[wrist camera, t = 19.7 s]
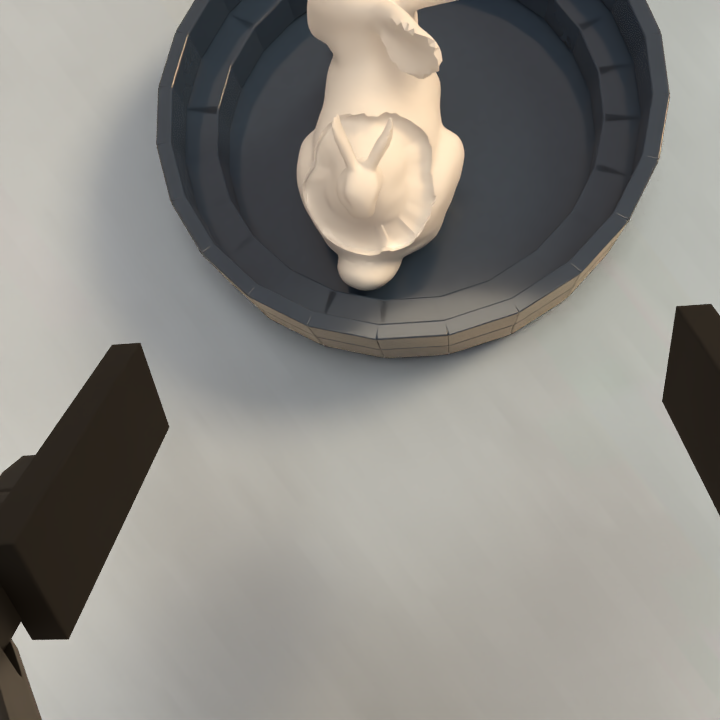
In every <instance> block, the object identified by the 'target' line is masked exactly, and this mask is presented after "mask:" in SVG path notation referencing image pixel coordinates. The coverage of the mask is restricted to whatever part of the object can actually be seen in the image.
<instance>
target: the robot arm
mask: <svg viewBox="0 0 720 720" xmlns="http://www.w3.org/2000/svg"><path fill="white" fill-rule="evenodd" d="M662 402H663V404H664V406H665V408H666V410H667V412H668V414H669V416H670V418H671V420H672V422H673V424H674V426H675V428H676V430H677V432H678V434H679V436H680V438H681V440H682V442H683V444H684V446H685V448H686V450H687V452H688V454H689V456H690V458H691V460H692V462H693V464H694V466H695V468H696V470H697V472H698V473H699V475H700V477H701V479H702V481H703V483H704V485H705V487H706V489H707V491H708V493H709V495H710V497H711V499H712V501H713V503H714V505H715V507H716V509H717V511H718V513H719V515H720V315H719V314H718V313H717V311H716V310H715V309H714V307H713V306H712V305H711V304H704V305H689V306H676V313H675V320H674V326H673V333H672V339H671V346H670V353H669V359H668V366H667V373H666V379H665V386H664V392H663V399H662ZM168 429H169V425H168V422H167V419H166V416H165V413H164V410H163V407H162V404H161V401H160V398H159V396H158V393H157V390H156V387H155V384H154V381H153V378H152V375H151V372H150V369H149V366H148V364H147V361H146V358H145V355H144V352H143V349H142V346H141V343H132V344H118V345H112V346H111V347H110V349H109V350H108V351H107V353H106V354H105V356H104V357H103V359H102V360H101V362H100V363H99V364H98V366H97V367H96V369H95V370H94V372H93V373H92V375H91V376H90V377H89V379H88V380H87V382H86V383H85V385H84V386H83V387H82V389H81V390H80V392H79V393H78V395H77V396H76V398H75V399H74V400H73V402H72V403H71V405H70V406H69V408H68V409H67V411H66V412H65V413H64V415H63V416H62V418H61V419H60V421H59V422H58V423H57V425H56V426H55V428H54V429H53V431H52V432H51V434H50V435H49V436H48V438H47V439H46V441H45V442H44V444H43V445H42V447H41V448H40V449H39V451H38V452H37V454H36V455H30V456H22V457H21V458H20V459H19V460H17V461H16V462H15V463H14V464H12V465H11V466H10V467H9V468H7V469H6V470H5V471H4V472H3V473H2V474H1V476H0V720H42V719H41V716H40V713H39V710H38V707H37V704H36V701H35V698H34V695H33V692H32V689H31V686H30V684H29V681H28V678H27V675H26V672H25V669H24V666H23V663H22V660H21V657H20V654H19V651H18V648H17V647H16V645H15V644H14V642H13V641H12V639H11V638H12V636H13V635H14V633H15V631H16V629H17V627H18V626H19V624H20V622H22V624H23V625H24V627H25V629H26V630H27V632H28V634H29V635H30V637H31V638H32V640H53V639H69V637H70V635H71V633H72V631H73V629H74V627H75V625H76V623H77V620H78V618H79V616H80V614H81V612H82V610H83V608H84V606H85V604H86V601H87V599H88V597H89V595H90V593H91V591H92V589H93V587H94V585H95V582H96V580H97V578H98V576H99V574H100V572H101V570H102V568H103V566H104V564H105V561H106V559H107V557H108V555H109V553H110V551H111V549H112V547H113V545H114V542H115V540H116V538H117V536H118V534H119V532H120V530H121V528H122V526H123V523H124V521H125V519H126V517H127V515H128V513H129V511H130V509H131V507H132V504H133V502H134V500H135V498H136V496H137V494H138V492H139V490H140V488H141V485H142V483H143V481H144V479H145V477H146V475H147V473H148V471H149V469H150V467H151V464H152V462H153V460H154V458H155V456H156V454H157V452H158V450H159V448H160V445H161V443H162V441H163V439H164V437H165V435H166V433H167V431H168Z"/></svg>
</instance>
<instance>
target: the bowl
mask: <svg viewBox="0 0 720 720" xmlns="http://www.w3.org/2000/svg"><path fill="white" fill-rule="evenodd" d="M307 2H308V0H195V1H194V2H193V4H192V6H191V7H190V9H189V10H188V12H187V14H186V15H185V17H184V19H183V20H182V22H181V24H180V25H179V27H178V28H177V30H176V33H175V35H174V38H173V42H172V45H171V48H170V51H169V55H168V58H167V61H166V64H165V68H164V71H163V74H162V77H161V81H160V84H159V88H158V111H157V141H156V145H157V150H158V154H159V158H160V162H161V165H162V169H163V173H164V177H165V181H166V185H167V189H168V193H169V197H170V201H171V202H172V205H173V207H174V209H175V210H176V212H177V214H178V215H179V217H180V219H181V220H182V222H183V224H184V225H185V227H186V229H187V230H188V232H189V234H190V235H191V237H192V239H193V240H194V242H195V244H196V245H197V247H198V249H199V250H200V252H201V253H202V254H203V256H204V257H205V258H206V259H207V260H208V261H209V262H210V263H211V264H212V265H213V266H214V267H215V268H216V269H217V270H218V271H219V272H220V273H221V274H222V275H223V276H224V277H225V278H226V279H227V280H228V281H229V282H230V283H231V284H232V285H234V286H235V287H236V288H237V289H238V290H239V291H240V292H241V293H242V294H243V295H244V296H246V297H247V298H248V299H249V300H250V301H251V302H252V303H253V304H254V305H255V306H256V307H257V308H259V309H260V310H261V311H262V312H263V313H264V314H265V315H266V316H267V317H268V318H270V319H271V320H273V321H275V322H277V323H279V324H281V325H283V326H285V327H287V328H289V329H291V330H293V331H295V332H297V333H299V334H301V335H303V336H305V337H307V338H309V339H311V340H313V341H315V342H317V343H319V344H321V345H324V346H328V347H332V348H337V349H342V350H347V351H352V352H357V353H362V354H367V355H372V356H377V357H381V358H382V357H385V358H397V357H414V356H432V355H447V354H448V353H449V354H451V353H455V352H458V351H461V350H464V349H467V348H470V347H473V346H476V345H479V344H483V343H486V342H489V341H492V340H495V339H498V338H501V337H504V336H507V335H509V334H510V333H511V334H513V333H514V332H516V331H517V330H519V329H520V328H522V327H524V326H525V325H527V324H528V323H530V322H531V321H533V320H535V319H536V318H538V317H539V316H541V315H542V314H544V313H546V312H547V311H549V310H550V309H552V308H553V307H555V306H557V305H558V304H560V303H561V302H563V301H564V300H565V299H566V298H568V297H569V296H570V294H571V293H572V292H573V291H574V290H575V289H576V288H577V287H578V286H579V285H580V283H581V282H582V281H583V280H584V279H585V278H586V277H587V276H588V275H589V274H590V272H591V271H592V270H593V269H594V268H595V267H596V266H597V265H598V264H599V263H600V261H601V260H602V259H603V258H604V257H605V256H606V255H607V254H608V252H609V251H610V249H611V248H612V246H613V244H614V243H615V241H616V240H617V238H618V237H619V235H620V234H621V232H622V231H623V229H624V227H625V226H626V224H627V223H628V221H629V220H630V218H631V216H632V214H633V212H634V210H635V207H636V205H637V203H638V201H639V199H640V197H641V195H642V193H643V191H644V189H645V187H646V185H647V183H648V181H649V179H650V177H651V175H652V173H653V171H654V169H655V167H656V165H657V163H658V160H659V158H660V152H661V146H662V140H663V134H664V128H665V122H666V116H667V110H668V104H669V98H670V93H669V85H668V78H667V71H666V64H665V56H664V49H663V42H662V35H661V31H660V29H659V27H658V25H657V23H656V21H655V19H654V16H653V14H652V12H651V10H650V8H649V6H648V4H647V2H646V0H456V1H452V2H448V3H443V4H438V5H434V6H430V7H425V8H422V9H419V10H417V15H418V25H419V26H420V27H421V28H422V29H423V30H424V31H426V32H427V33H428V34H429V35H430V36H431V37H432V38H433V39H434V40H435V41H436V43H437V44H438V46H439V47H440V50H441V54H442V62H441V64H440V65H439V71H438V72H436V73H437V75H438V78H439V80H440V86H441V95H440V114H441V121H442V124H443V126H444V127H445V128H446V129H448V130H450V131H451V132H453V133H454V134H456V135H457V136H458V137H459V138H460V140H461V141H462V144H463V147H464V162H463V167H462V172H461V177H460V179H459V182H458V184H457V187H456V189H455V192H454V195H453V198H452V201H451V203H450V205H449V207H448V209H447V212H446V214H445V217H444V220H443V223H442V226H441V228H440V230H439V231H438V233H437V235H436V236H435V237H434V238H433V239H432V240H431V241H430V242H429V243H428V244H427V245H426V246H424V247H423V248H421V249H419V250H417V251H415V252H413V253H411V254H409V255H407V256H405V257H403V259H402V262H401V265H400V267H399V269H398V271H397V273H396V274H395V276H394V277H393V278H392V279H391V280H390V281H389V282H388V283H386V284H385V285H384V286H382V287H380V288H378V289H374V290H368V291H363V290H358V289H355V288H353V287H351V286H349V285H347V284H346V283H345V282H344V281H343V280H342V279H341V277H340V275H339V272H338V268H337V265H338V254H336V253H335V252H334V251H333V250H332V249H331V248H330V247H329V246H328V245H327V244H326V242H325V240H324V239H323V237H322V236H321V234H320V233H319V231H318V229H317V228H316V226H315V225H314V223H313V221H312V220H311V218H310V216H309V215H308V213H307V211H306V209H305V207H304V205H303V202H302V199H301V196H300V192H299V189H298V184H297V163H298V156H299V152H300V148H301V145H302V143H303V141H304V139H305V138H306V137H307V136H308V135H309V134H310V133H311V132H312V131H314V130H315V128H316V125H317V122H318V119H319V115H320V113H321V110H322V107H323V103H324V97H325V88H326V79H327V73H328V69H329V66H330V63H331V60H332V58H333V53H332V51H331V50H330V48H329V47H328V45H327V44H325V43H324V42H322V41H320V40H318V39H317V38H316V37H314V36H313V35H312V33H311V31H310V29H309V26H308V22H307Z"/></svg>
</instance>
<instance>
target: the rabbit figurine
mask: <svg viewBox="0 0 720 720" xmlns="http://www.w3.org/2000/svg"><path fill="white" fill-rule="evenodd" d="M452 1H456V0H308V2H307V22H308V26H309V29H310V31H311V33H312V35H313V36H314V37H316V38H317V39H318V40H320V41H322V42H324V43H325V44H327V45H328V47H329V48H330V50H331V51H332V53H333V58H332V60H331V63H330V66H329V69H328V73H327V79H326V88H325V97H324V103H323V107H322V110H321V113H320V115H319V119H318V122H317V125H316V128H315V130H314V131H312V132H311V133H310V134H309V135H308V136H307V137H306V138H305V139H304V141H303V143H302V145H301V148H300V152H299V156H298V163H297V184H298V189H299V192H300V196H301V199H302V202H303V205H304V207H305V209H306V211H307V213H308V215H309V216H310V218H311V220H312V221H313V223H314V225H315V226H316V228H317V229H318V231H319V233H320V234H321V236H322V237H323V239H324V240H325V242H326V244H327V245H328V246H329V247H330V248H331V249H332V250H333V251H334V252H335V253H336V254H338V265H337V268H338V272H339V275H340V277H341V279H342V280H343V281H344V282H345V283H346V284H347V285H349V286H351V287H353V288H355V289H358V290H363V291H368V290H374V289H378V288H380V287H382V286H384V285H385V284H386V283H388V282H389V281H390V280H391V279H392V278H393V277H394V276H395V274H396V273H397V271H398V269H399V267H400V265H401V262H402V259H403V257H405V256H407V255H409V254H411V253H413V252H415V251H417V250H419V249H421V248H423V247H424V246H426V245H427V244H428V243H429V242H430V241H431V240H432V239H433V238H434V237H435V236H436V235H437V233H438V231H439V230H440V228H441V226H442V223H443V220H444V217H445V214H446V212H447V209H448V207H449V205H450V203H451V201H452V198H453V195H454V192H455V189H456V187H457V184H458V182H459V179H460V177H461V172H462V167H463V162H464V147H463V144H462V141H461V140H460V138H459V137H458V136H457V135H456V134H454V133H453V132H451V131H450V130H448V129H446V128H445V127H444V126H443V124H442V121H441V114H440V95H441V86H440V80H439V78H438V75H437V73H436V72H438V71H439V65H440V64H441V62H442V54H441V50H440V47H439V46H438V44H437V43H436V41H435V40H434V39H433V38H432V37H431V36H430V35H429V34H428V33H427V32H426V31H424V30H423V29H422V28H421V27H420V26H419V25H418V15H417V10H419V9H422V8H425V7H430V6H434V5H438V4H443V3H448V2H452Z"/></svg>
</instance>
